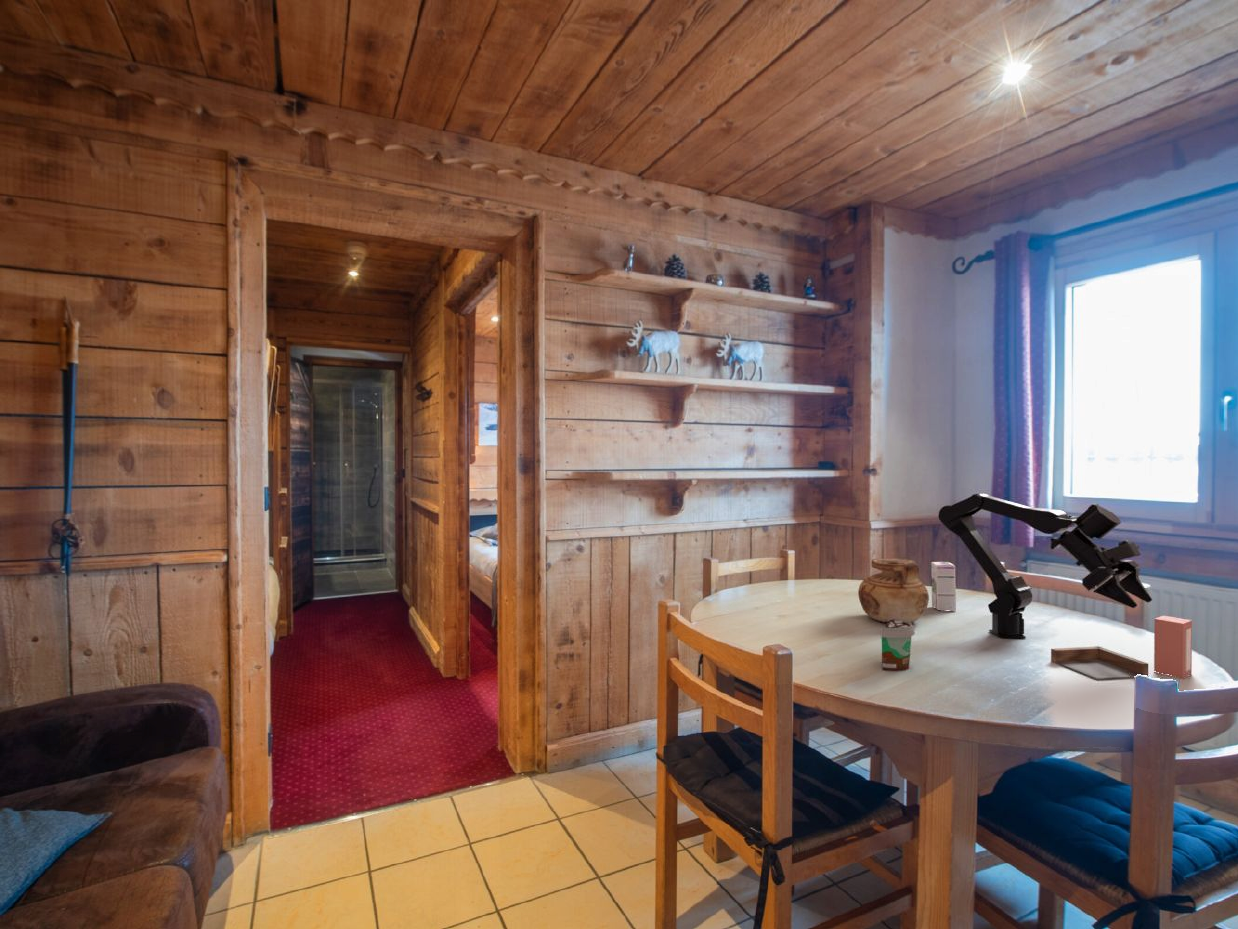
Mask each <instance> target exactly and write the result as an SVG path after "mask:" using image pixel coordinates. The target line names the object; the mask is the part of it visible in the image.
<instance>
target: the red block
mask: <svg viewBox="0 0 1238 929" xmlns="http://www.w3.org/2000/svg"><path fill="white" fill-rule="evenodd" d="M1153 629H1154V637H1153V639H1154V642H1153V643H1154V644H1153V645H1154V646H1153V648H1154V650H1153V652H1154V653H1153V654H1154V655H1153V658H1154V660H1153V663H1154V664H1153V672H1154V671H1156V672H1159V673H1163V674H1169V675H1172V676H1176V677H1179V678H1178V679H1181V678H1184V677H1186V676H1188V675H1190V674H1192V668H1193V667H1192V665H1193V664H1192V663H1193V662H1192V660H1193V658H1192V657H1193V655H1192V652H1193V650H1192V649H1193V648H1192V647H1193V646H1192V644H1193V639H1192V638H1193V620H1192V619H1188V618H1187V619H1185V618H1179V617H1175V616H1170V615H1169V616H1168V615H1161V616H1158V617H1156V618H1154V628H1153ZM1159 673H1158V674H1159ZM1163 674H1162V675H1163ZM1172 676H1171V677H1172ZM1190 676H1191V675H1190ZM1176 677H1175V678H1176ZM1188 677H1189V676H1188ZM1186 678H1187V677H1186ZM1184 679H1185V678H1184Z"/></svg>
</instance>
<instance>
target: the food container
mask: <svg viewBox="0 0 1238 929" xmlns="http://www.w3.org/2000/svg"><path fill="white" fill-rule="evenodd" d="M880 632H881V633H880V638H881V662H882V663H881V668H882V671H887V672H903V671H907V670H909V669H910V662H911V661H910V659H911V648H912V637H913V636H915V635H916V632H915V628H914V625H913V622H910V621H908V620H905V619H902V618H898V617H891V616H890V621H889V623H886V624H885V626H884V627H881V629H880Z"/></svg>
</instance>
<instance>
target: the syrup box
mask: <svg viewBox="0 0 1238 929" xmlns="http://www.w3.org/2000/svg"><path fill="white" fill-rule="evenodd" d="M956 586H957V584H956V565H954V564H953V563H951V562H949V561H932V562H931V607H932V606H933V607H935V608H936V609H937V610H950V611H956V612H957V592H956V591H957V589H956V588H957V587H956ZM933 607H932V608H933ZM936 609H935V610H936ZM937 610H936V611H937Z"/></svg>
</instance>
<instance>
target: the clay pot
mask: <svg viewBox="0 0 1238 929" xmlns="http://www.w3.org/2000/svg"><path fill="white" fill-rule="evenodd" d="M871 567H872V568H873V569H876V570H881V571H882V572H881V573H874V574H872V575H869V576H867V577H866V578H864V579H863V580H862V581H861V583H860V584H859V587H858V590H857V591H858V592H857V593H858V599H859V602H860V605H861V607H862V610H863V611H864V613H865V614H866V615H867V616H869V618H871V619H873V620H875V621H877V620H878V621H877V622H880V621H882V623H885V622H887V623H889V621H890V616H891V617H898V618H902V619H905V620H908V621H910V622H911V623H913V622H916V621H917V620H918V619H921V617H922V616H923V615H924V614H925V612H926V610H927V608H928V605H929V600H930V595H929V594H930V593H929V592H928V589H927V586H926V585H925V584H924V583H923V581H921V580H920V579H919V572H920V571H919V570H920V567H919V565H918V564H917V563H916V562H915V560H912V559H906V558H896V557H894V558H892V557H891V558H888V557H887V558H885V557H883V558H874V559H871ZM887 623H886V624H887Z"/></svg>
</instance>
